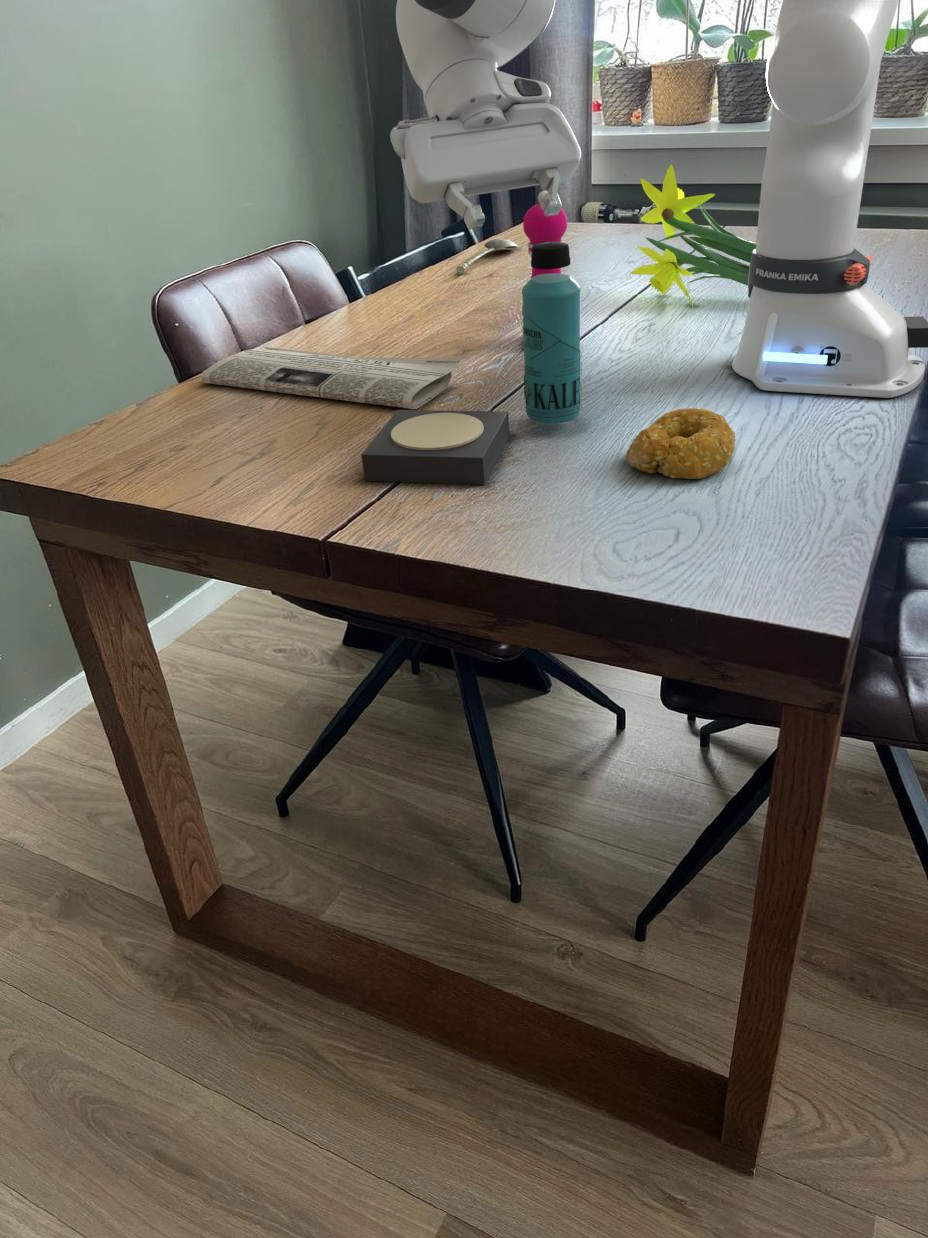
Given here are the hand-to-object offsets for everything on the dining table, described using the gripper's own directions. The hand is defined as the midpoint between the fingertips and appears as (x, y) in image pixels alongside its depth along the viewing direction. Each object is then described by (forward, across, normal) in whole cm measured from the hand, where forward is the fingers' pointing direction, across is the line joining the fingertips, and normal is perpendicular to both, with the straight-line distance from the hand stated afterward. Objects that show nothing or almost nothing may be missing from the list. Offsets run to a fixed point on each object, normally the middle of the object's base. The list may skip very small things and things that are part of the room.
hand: (516, 218), depth 103 cm
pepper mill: (0, +16, +31) cm, 35 cm away
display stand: (+21, -15, +10) cm, 27 cm away
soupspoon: (-38, +32, +69) cm, 85 cm away
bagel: (+32, +5, -2) cm, 33 cm away
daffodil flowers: (0, +49, +31) cm, 58 cm away
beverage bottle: (+20, 0, +10) cm, 23 cm away
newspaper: (-2, -16, +32) cm, 36 cm away
